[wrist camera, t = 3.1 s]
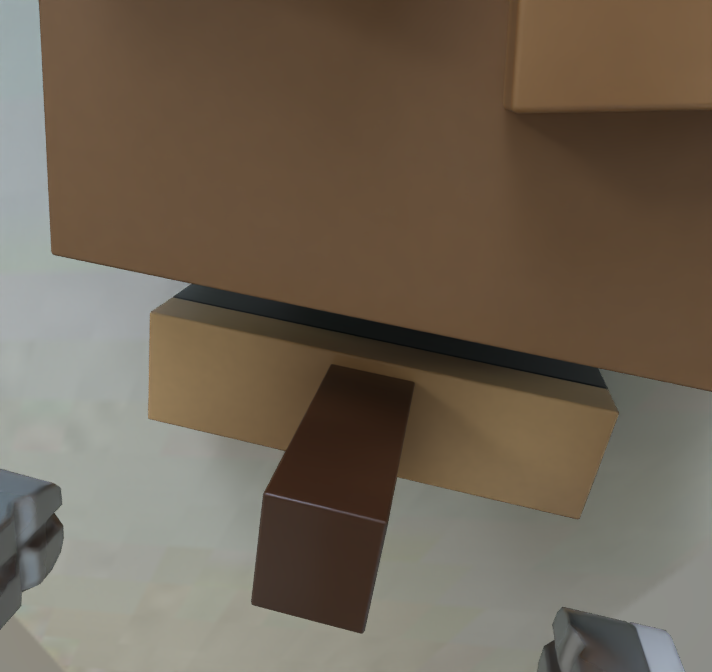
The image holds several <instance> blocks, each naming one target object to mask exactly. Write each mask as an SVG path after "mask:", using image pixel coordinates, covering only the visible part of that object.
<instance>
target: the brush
mask: <svg viewBox="0 0 712 672" xmlns="http://www.w3.org/2000/svg"><path fill="white" fill-rule="evenodd" d="M618 415H619V412H618V409H617V407H616V405H615V403H614V401H613V399H612V397H611V395H610V392H609V390H608V388H607V386H606V384H605V381H604V379H603V377H602V375H601V373H600V371H599V369H598V368H596V367H591V366H586V365H581V364H576V363H572V362H567V361H562V360H557V359H552V358H548V357H543V356H538V355H533V354H528V353H523V352H519V351H514V350H509V349H504V348H499V347H495V346H490V345H485V344H480V343H475V342H471V341H466V340H461V339H456V338H451V337H446V336H442V335H437V334H432V333H427V332H422V331H418V330H413V329H408V328H403V327H398V326H394V325H389V324H384V323H379V322H374V321H370V320H365V319H360V318H355V317H350V316H345V315H341V314H336V313H331V312H326V311H321V310H317V309H312V308H307V307H302V306H297V305H293V304H288V303H283V302H278V301H273V300H268V299H264V298H259V297H254V296H249V295H244V294H240V293H235V292H230V291H225V290H220V289H216V288H211V287H206V286H201V285H196V284H191V285H190V286H188V287H187V288H185V289H184V290H182V291H181V292H179V293H178V294H176V295H175V296H173V298H171V299H169V300H168V301H166V302H165V303H163V304H162V305H160V306H159V307H157V308H156V309H154V310H153V311H151V313H150V342H149V399H148V418H149V419H152V420H156V421H160V422H164V423H169V424H173V425H177V426H181V427H186V428H190V429H194V430H198V431H203V432H207V433H211V434H216V435H220V436H224V437H228V438H233V439H237V440H241V441H245V442H250V443H254V444H258V445H262V446H267V447H271V448H275V449H280V450H284V451H285V453H284V455H283V457H282V459H281V461H280V462H279V464H278V466H277V468H276V470H275V472H274V474H273V476H272V478H271V480H270V482H269V484H268V486H267V487H266V489H265V491H264V493H263V500H262V509H261V518H260V527H259V536H258V545H257V554H256V563H255V572H254V581H253V590H252V599H251V603H252V605H254V606H258V607H262V608H266V609H270V610H273V611H277V612H281V613H285V614H289V615H292V616H296V617H300V618H304V619H308V620H311V621H315V622H319V623H323V624H327V625H330V626H334V627H338V628H342V629H345V630H349V631H353V632H357V633H363V632H364V631H365V627H366V623H367V618H368V613H369V609H370V604H371V600H372V595H373V590H374V586H375V581H376V577H377V572H378V567H379V563H380V558H381V554H382V549H383V544H384V540H385V535H386V531H387V526H388V521H389V516H390V511H391V506H392V500H393V495H394V490H395V485H396V480H397V477H399V478H403V479H408V480H412V481H416V482H420V483H425V484H429V485H433V486H437V487H442V488H446V489H450V490H455V491H459V492H463V493H467V494H472V495H476V496H480V497H484V498H489V499H493V500H497V501H501V502H506V503H510V504H514V505H519V506H523V507H527V508H531V509H536V510H540V511H544V512H548V513H553V514H557V515H561V516H565V517H570V518H574V519H580V517H581V514H582V511H583V509H584V506H585V503H586V501H587V498H588V495H589V493H590V490H591V487H592V485H593V482H594V479H595V477H596V474H597V471H598V469H599V466H600V463H601V461H602V458H603V455H604V453H605V450H606V447H607V445H608V442H609V439H610V437H611V434H612V431H613V429H614V426H615V423H616V421H617V418H618Z"/></svg>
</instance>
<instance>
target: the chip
mask: <svg viewBox="0 0 712 672" xmlns="http://www.w3.org/2000/svg"><path fill="white" fill-rule="evenodd" d="M503 106H504V108H505V109H507V110H509V111H512V112H515V113H517V114H521V113H578V112H634V111H691V110H712V0H510V1H509V16H508V32H507V48H506V63H505V79H504V95H503Z"/></svg>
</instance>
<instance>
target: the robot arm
mask: <svg viewBox="0 0 712 672" xmlns="http://www.w3.org/2000/svg"><path fill="white" fill-rule="evenodd" d="M61 505H62V496H61V488H60V487H59V486H57V485H56V484H54V483H51V482H47V481H44V480H40V479H36V478H33V477H29V476H25V475H22V474H18V473H14V472H10V471H7V470H3V469H0V630H1V628H2V627H3V626H4V625H5V624H6V622H7V621H8V620H9V619H10V618H11V617H12V616H13V615H14V614H15V612H16V611H17V610H18V609H19V608H20V607H21V602H22V592H24V591H26V590H28V589H30V588H32V587H35V586H37V585H39V584H41V582H42V581H43V580H44V579H45V578H46V576H47V575H48V574H49V573H50V572H51V570H52V569H53V567H54V565H55V563H56V561H57V559H58V557H59V555H60V553H61V549H62V544H63V539H64V531H63V525H62V523H61V522H60V520H59V519H58V518H57V516H56V515H55V513H54V512H55V511H56V510H57V509H58V508H59V507H60V506H61ZM552 626H553V633H554V639H555V640H554V641H552V642H550V643H548V644H547V645H545V646H544V647H543V650H542V653H541V656H540V659H539V662H538V669H537V672H685V670H684V667H683V665H682V662H681V660H680V657H679V655H678V653H677V650H676V647H675V645H674V642H673V640H672V637H671V636H670V635H669V633H668V632H667V631H666V630H663V629H658V628H655V627H650V626H646V625H641V624H637V623H632V622H630V623H628V622H626V621H622V620H618V619H614V618H609V617H605V616H601V615H597V614H592V613H588V612H584V611H579V610H575V609H571V608H567V607H561V609H560V610H559V611H558V612H557V614H556V617H555V619H554V622H553V624H552Z"/></svg>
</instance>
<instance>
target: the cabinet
mask: <svg viewBox="0 0 712 672" xmlns="http://www.w3.org/2000/svg"><path fill="white" fill-rule="evenodd" d="M509 1H510V0H39V11H40V31H41V51H42V72H43V92H44V112H45V132H46V152H47V172H48V192H49V212H50V232H51V252H52V254H53V255H57V256H62V257H66V258H71V259H76V260H81V261H86V262H90V263H95V264H100V265H105V266H110V267H115V268H119V269H124V270H129V271H134V272H139V273H143V274H148V275H153V276H158V277H163V278H167V279H172V280H177V281H182V282H187V283H192V284H196V285H201V286H206V287H211V288H216V289H220V290H225V291H230V292H235V293H240V294H244V295H249V296H254V297H259V298H264V299H268V300H273V301H278V302H283V303H288V304H293V305H297V306H302V307H307V308H312V309H317V310H321V311H326V312H331V313H336V314H341V315H345V316H350V317H355V318H360V319H365V320H370V321H374V322H379V323H384V324H389V325H394V326H398V327H403V328H408V329H413V330H418V331H422V332H427V333H432V334H437V335H442V336H446V337H451V338H456V339H461V340H466V341H471V342H475V343H480V344H485V345H490V346H495V347H499V348H504V349H509V350H514V351H519V352H523V353H528V354H533V355H538V356H543V357H548V358H552V359H557V360H562V361H567V362H572V363H576V364H581V365H586V366H591V367H596V368H600V369H605V370H610V371H615V372H620V373H625V374H629V375H634V376H639V377H644V378H649V379H653V380H658V381H663V382H668V383H673V384H677V385H682V386H687V387H692V388H697V389H701V390H706V391H711V392H712V110H691V111H634V112H578V113H521V114H517V113H515V112H512V111H509V110H507V109H505V108H504V106H503V95H504V79H505V63H506V48H507V32H508V16H509Z"/></svg>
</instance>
